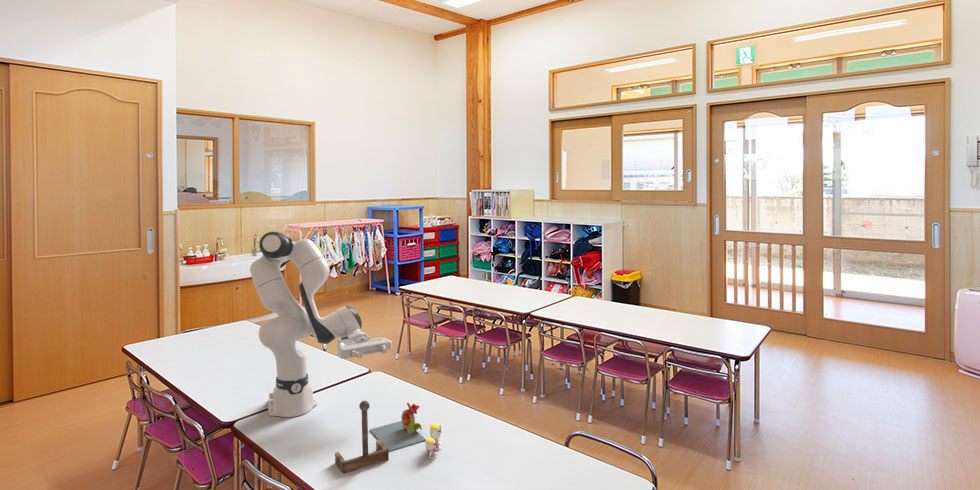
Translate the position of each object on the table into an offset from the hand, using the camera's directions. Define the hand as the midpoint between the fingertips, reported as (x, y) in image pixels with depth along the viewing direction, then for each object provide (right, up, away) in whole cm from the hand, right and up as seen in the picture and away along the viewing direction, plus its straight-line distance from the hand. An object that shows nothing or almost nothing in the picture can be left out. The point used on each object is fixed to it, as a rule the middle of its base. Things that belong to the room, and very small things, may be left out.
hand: (372, 353), depth 197 cm
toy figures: (+24, -31, -14) cm, 42 cm away
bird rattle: (+14, -28, -1) cm, 32 cm away
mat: (+10, -29, -4) cm, 31 cm away
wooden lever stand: (+1, -31, -22) cm, 38 cm away
